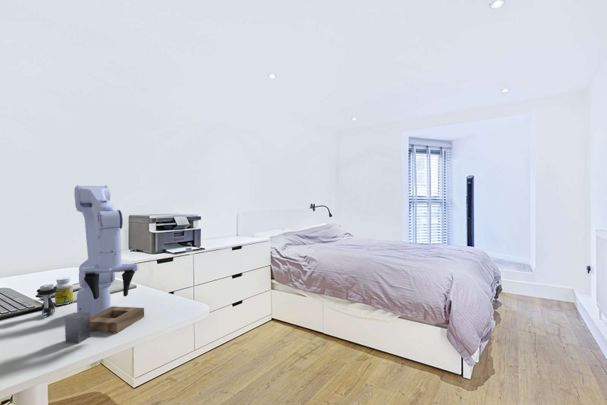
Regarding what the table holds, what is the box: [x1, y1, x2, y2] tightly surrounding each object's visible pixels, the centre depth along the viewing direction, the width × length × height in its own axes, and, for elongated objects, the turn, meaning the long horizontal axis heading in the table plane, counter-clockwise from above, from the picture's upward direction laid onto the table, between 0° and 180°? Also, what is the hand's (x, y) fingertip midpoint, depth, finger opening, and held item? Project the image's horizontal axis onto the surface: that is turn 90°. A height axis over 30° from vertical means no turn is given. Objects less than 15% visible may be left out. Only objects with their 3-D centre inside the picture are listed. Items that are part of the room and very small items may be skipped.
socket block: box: [90, 305, 145, 334], centre depth 97 cm, size 12×12×3 cm
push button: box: [36, 283, 57, 319], centre depth 105 cm, size 7×5×10 cm
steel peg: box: [64, 311, 92, 344], centre depth 87 cm, size 4×4×7 cm
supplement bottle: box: [54, 276, 74, 305], centre depth 116 cm, size 5×5×10 cm
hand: (111, 296), depth 92 cm, fingers open, 7 cm apart
